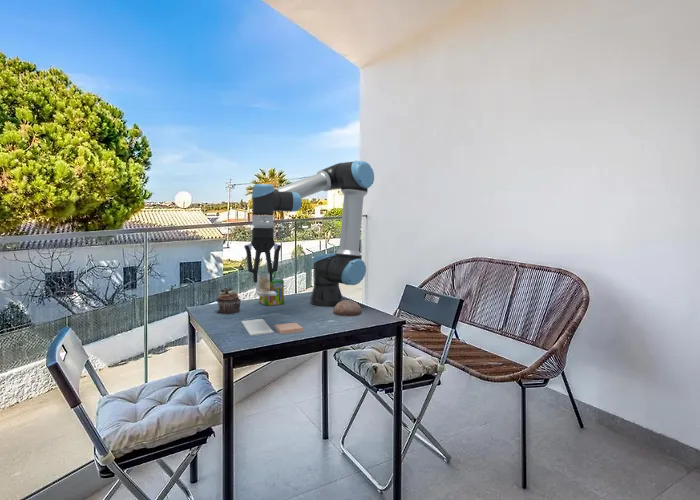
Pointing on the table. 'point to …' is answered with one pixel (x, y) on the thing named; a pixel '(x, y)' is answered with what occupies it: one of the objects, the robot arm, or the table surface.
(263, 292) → the beige boxy piece
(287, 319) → the table surface
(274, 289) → the chalk box
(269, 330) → the mat
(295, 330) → the tile
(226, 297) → the cupcake
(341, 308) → the decorative stone
